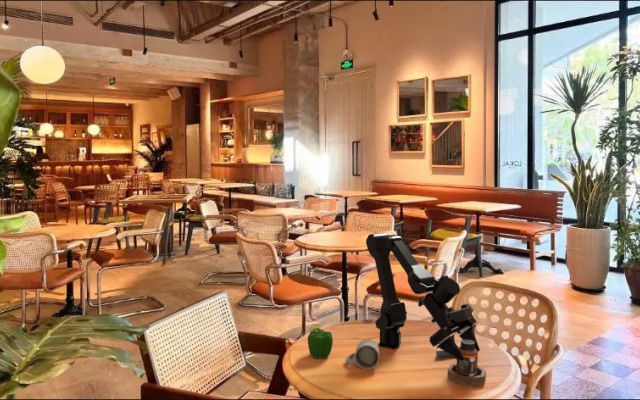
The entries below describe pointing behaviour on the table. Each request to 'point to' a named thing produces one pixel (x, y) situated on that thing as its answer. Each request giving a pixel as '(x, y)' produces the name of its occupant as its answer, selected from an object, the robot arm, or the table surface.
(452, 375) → the walnut collar
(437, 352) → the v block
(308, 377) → the table surface
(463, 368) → the supplement bottle
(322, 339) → the bell pepper
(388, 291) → the robot arm
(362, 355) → the ceramic mug
